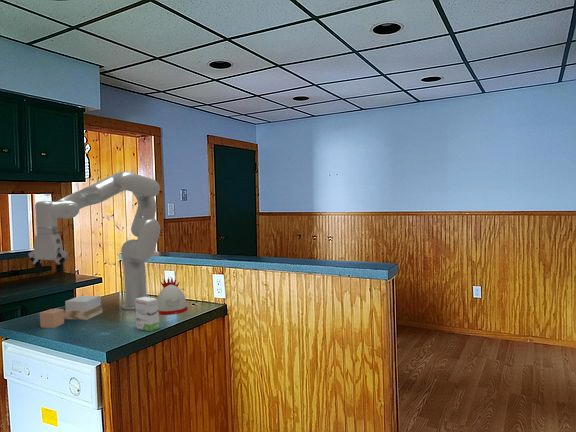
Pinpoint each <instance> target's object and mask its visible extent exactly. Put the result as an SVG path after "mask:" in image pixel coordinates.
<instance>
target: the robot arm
mask: <svg viewBox="0 0 576 432" xmlns="http://www.w3.org/2000/svg"><path fill="white" fill-rule="evenodd" d="M124 191H125V192H126V191H129V192H131V193H132V194H133V196H134V197H135V200H136V201H137V208H136V212H135V215H134V218H133V221H132V224H131V227H130V231H131V234H132V235H133V236H134V237H137V239H128V240H126V241H125V242H124V243H123V244H122V246H121V249H120V251H121V252H120V253H121V259H122V263H123V276H124V277H123V278H124V299H125V302H124V303H123V304H122V305H121V308H122V309H123V310H128V311H130V310H131V311H133V310H135V311H136V306H135V299H136V298H141V297H150V296H149V295H148V294H147V273H146V272H147V271H146V263H145V262H147V261H149V260H150V259H151V258H152V257H153V255H154V253H155V250H156V247H157V243H158V241H159V238H160V235H161V225H160V223H159V221H158V220H157V219H155V216H156V212H157V201H156V199H155V197H157V196H158V194H159V193H160V191H161V187H160V184H159V182H158V181H156V180H155V179H153V178H150V177H147V176H143V175H141V174H137V173H134V172H131V171H120V172H119V171H118V172H116V173H113V174H111V175H109V176H107V177H105V178H103V179H101V180H99V181H97V182H95V183H93V184H91V185H88V186H86V187H84V188H82V189H80V190H78V191H75V192H73V193H70V194H69V195H66V196H64V197H62V198H60V199H58V200H57V201H53V200H41V201H37V202H35V204H34V213H35V214H34V215H35V229H36V230H35V231H36V235H35V236H34V243H33V244H34V245H33V247H34V248H33V250H32V251H30V252H29V253H28V257H29V259H30V261H31V262H32V265H34V274H35V275H39V274H42V273H43V263H42V261H54V262H55V263H56V265H55V272H56V275H61V274H63V273H64V264H65V262H66V261H67V259H68V256H69V252H67V251H65V250H64V248H63V243H62V238H61V234H59V232H60V228H58V219H73V218H75V217H76V216H78V214H79V213H80V210H82V209H83V208H86V207H88V206H93V205H98V204H100V203H103V202H105V201H107V200H108V199H110V198H112V197H114V196H116V195H118V194H120V193H122V192H124Z"/></svg>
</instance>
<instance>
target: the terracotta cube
mask: <svg viewBox="0 0 576 432" xmlns="http://www.w3.org/2000/svg"><path fill="white" fill-rule="evenodd" d="M64 311H65V310H64V309H63V308H50V309H47V310H44V311H41V312H39V316H40V317H39V322H40V323H39V324H40V328H42V329H43V328H45V329H46V328H48V329H54V328H57V327H59V326H61V325H63V324H65V319H64Z"/></svg>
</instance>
